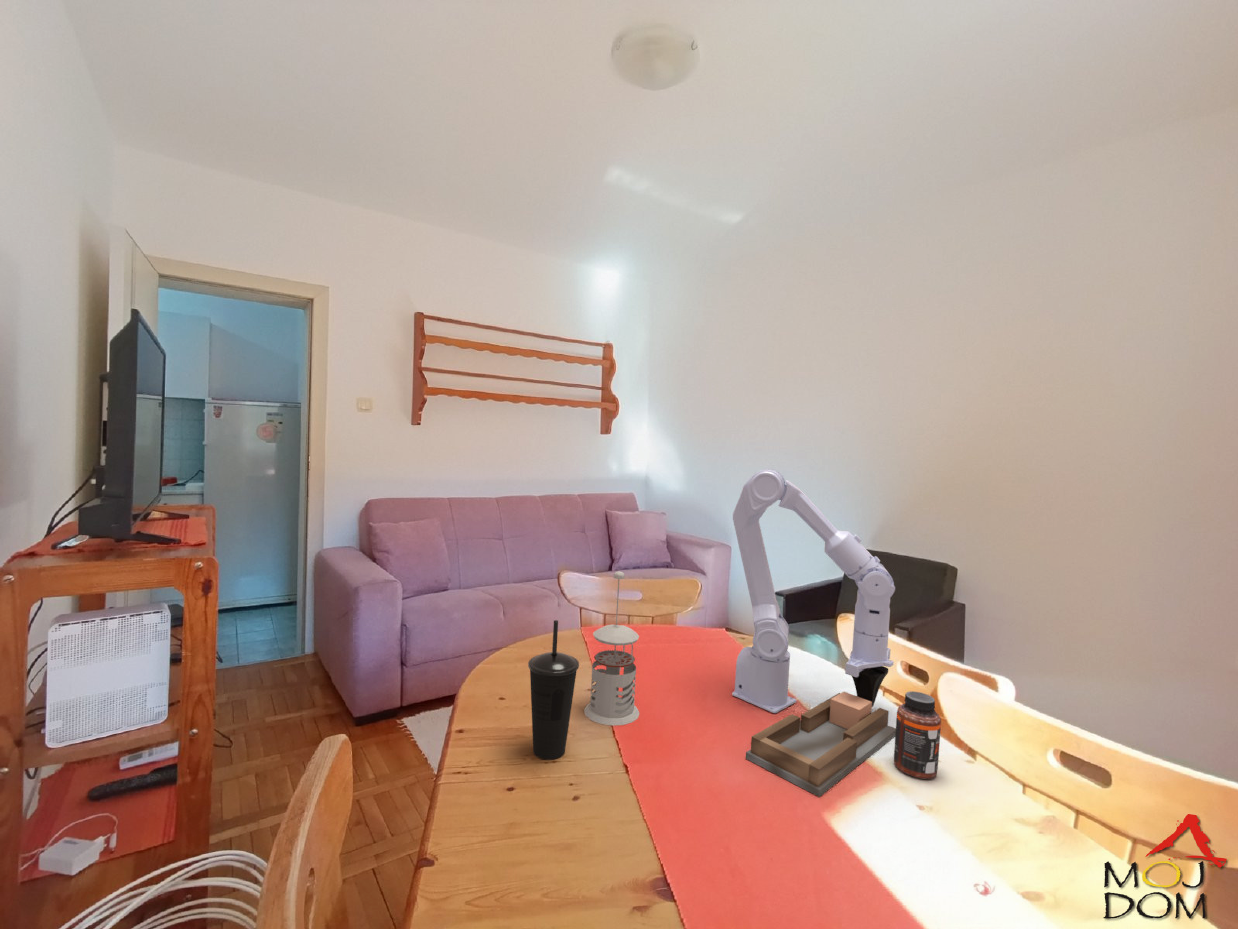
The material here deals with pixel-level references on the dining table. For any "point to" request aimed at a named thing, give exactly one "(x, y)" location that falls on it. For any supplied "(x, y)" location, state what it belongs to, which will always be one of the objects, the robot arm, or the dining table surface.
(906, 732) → the supplement bottle
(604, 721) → the french press
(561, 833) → the dining table surface
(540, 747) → the drinking cup
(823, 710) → the walled tray
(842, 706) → the block
